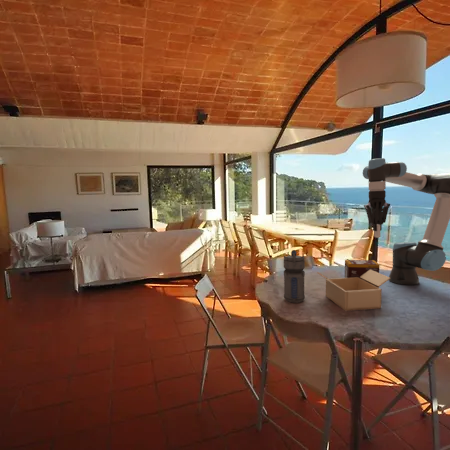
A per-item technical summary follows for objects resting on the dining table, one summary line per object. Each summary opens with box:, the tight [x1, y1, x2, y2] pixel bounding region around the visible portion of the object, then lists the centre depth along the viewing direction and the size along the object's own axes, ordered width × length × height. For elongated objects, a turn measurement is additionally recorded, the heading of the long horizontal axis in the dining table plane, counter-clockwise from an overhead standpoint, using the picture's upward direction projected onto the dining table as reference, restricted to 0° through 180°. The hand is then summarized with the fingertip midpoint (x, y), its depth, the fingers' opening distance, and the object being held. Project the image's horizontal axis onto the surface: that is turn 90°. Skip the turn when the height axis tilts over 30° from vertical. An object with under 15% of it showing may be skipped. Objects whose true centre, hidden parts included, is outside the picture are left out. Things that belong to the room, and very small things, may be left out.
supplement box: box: [344, 259, 380, 288], centre depth 162 cm, size 10×15×16 cm
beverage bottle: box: [283, 249, 306, 304], centre depth 149 cm, size 10×13×25 cm
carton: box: [325, 277, 383, 312], centre depth 145 cm, size 17×21×9 cm
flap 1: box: [317, 271, 343, 289], centre depth 143 cm, size 1×16×7 cm
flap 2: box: [360, 269, 391, 288], centre depth 145 cm, size 1×16×7 cm
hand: (377, 237), depth 151 cm, fingers closed
